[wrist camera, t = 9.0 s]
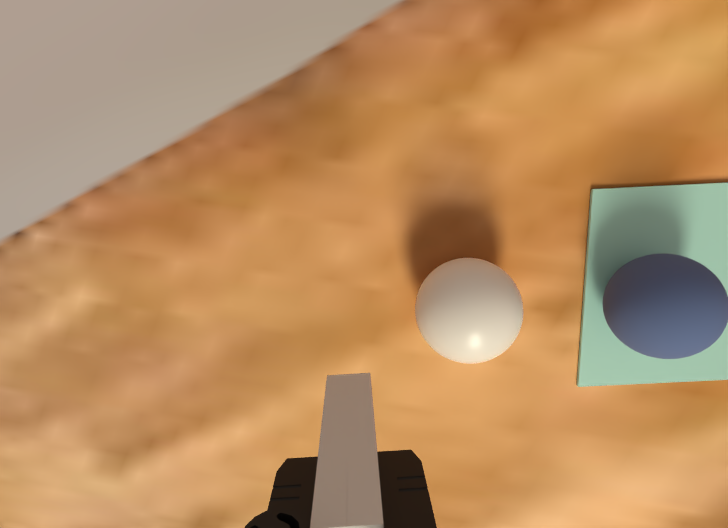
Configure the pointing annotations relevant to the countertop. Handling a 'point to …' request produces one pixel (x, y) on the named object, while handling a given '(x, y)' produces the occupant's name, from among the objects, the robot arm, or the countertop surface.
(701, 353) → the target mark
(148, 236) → the countertop surface
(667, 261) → the object ball
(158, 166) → the countertop surface
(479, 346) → the cue ball
